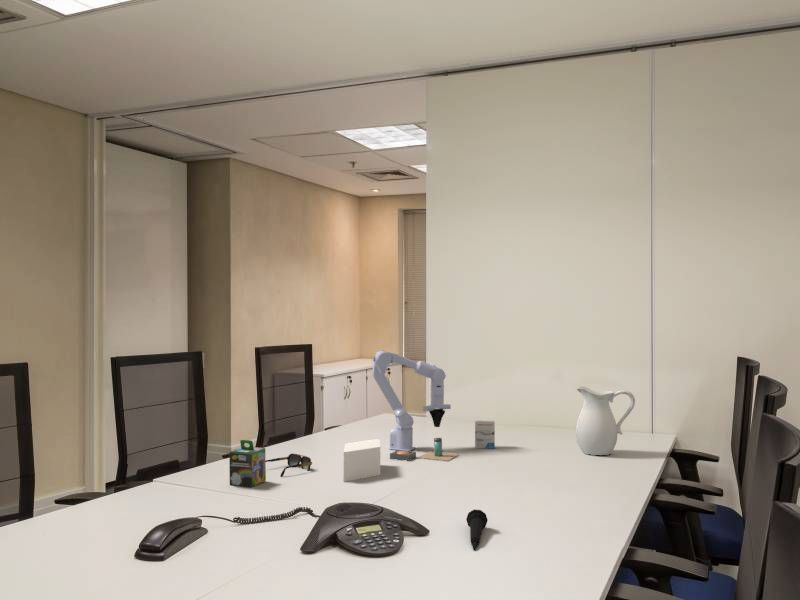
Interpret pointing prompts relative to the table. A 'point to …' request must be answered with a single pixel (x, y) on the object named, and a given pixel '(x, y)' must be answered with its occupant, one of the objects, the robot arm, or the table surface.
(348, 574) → the table surface
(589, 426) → the pitcher
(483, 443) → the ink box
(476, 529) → the microphone
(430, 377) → the robot arm
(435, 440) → the cylindrical container
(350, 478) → the white rectangular block
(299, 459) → the sunglasses
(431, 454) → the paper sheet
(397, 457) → the button frame
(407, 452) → the button
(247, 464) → the chalk box
